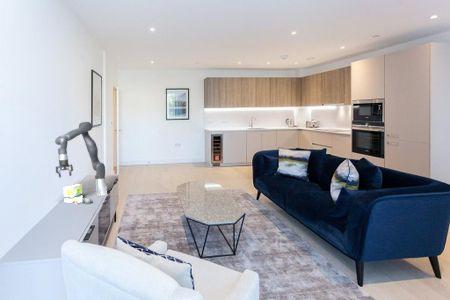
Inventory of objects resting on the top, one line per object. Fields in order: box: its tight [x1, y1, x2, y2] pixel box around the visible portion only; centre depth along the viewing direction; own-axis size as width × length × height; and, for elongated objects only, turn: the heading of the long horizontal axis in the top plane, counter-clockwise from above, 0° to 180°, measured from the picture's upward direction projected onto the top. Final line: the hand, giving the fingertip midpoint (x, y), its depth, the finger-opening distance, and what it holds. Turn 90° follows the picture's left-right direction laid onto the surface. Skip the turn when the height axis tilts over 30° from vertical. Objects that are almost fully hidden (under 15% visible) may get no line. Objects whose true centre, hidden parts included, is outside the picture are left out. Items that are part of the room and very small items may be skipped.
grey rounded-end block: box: [84, 197, 92, 205], centre depth 328 cm, size 5×5×5 cm
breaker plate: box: [71, 198, 93, 206], centre depth 333 cm, size 14×11×2 cm
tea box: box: [63, 183, 84, 203], centre depth 343 cm, size 15×10×15 cm, turn 168°
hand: (65, 176), depth 325 cm, fingers open, 8 cm apart
